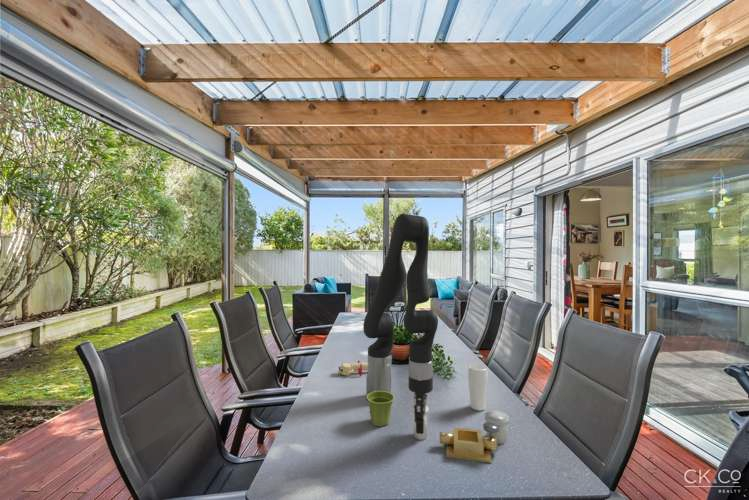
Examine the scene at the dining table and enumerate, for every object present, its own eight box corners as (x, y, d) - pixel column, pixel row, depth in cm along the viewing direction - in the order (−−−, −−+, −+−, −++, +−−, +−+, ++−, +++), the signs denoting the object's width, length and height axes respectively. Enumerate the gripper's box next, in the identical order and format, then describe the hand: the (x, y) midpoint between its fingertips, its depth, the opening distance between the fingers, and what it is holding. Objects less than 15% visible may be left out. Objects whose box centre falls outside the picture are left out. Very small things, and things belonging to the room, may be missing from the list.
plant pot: (397, 418, 118) (397, 392, 118) (389, 431, 109) (389, 404, 109) (372, 413, 121) (372, 389, 121) (362, 426, 112) (362, 400, 112)
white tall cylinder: (488, 413, 121) (488, 371, 121) (468, 411, 123) (468, 369, 123) (486, 404, 128) (486, 364, 128) (467, 403, 129) (467, 363, 129)
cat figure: (386, 370, 168) (336, 370, 163) (387, 353, 168) (337, 352, 163) (391, 378, 158) (338, 377, 153) (393, 359, 159) (340, 358, 153)
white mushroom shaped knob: (411, 439, 104) (411, 410, 104) (413, 431, 109) (413, 403, 109) (427, 441, 103) (428, 411, 103) (428, 432, 108) (429, 404, 108)
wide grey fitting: (486, 443, 102) (486, 420, 102) (483, 431, 109) (483, 409, 109) (510, 446, 101) (510, 422, 101) (506, 433, 108) (506, 411, 108)
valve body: (439, 456, 96) (439, 429, 96) (440, 437, 106) (440, 412, 106) (501, 464, 92) (501, 436, 92) (496, 443, 102) (496, 418, 102)
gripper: (411, 365, 114) (410, 417, 114) (405, 381, 100) (405, 440, 100) (433, 367, 112) (433, 419, 112) (431, 384, 98) (431, 443, 98)
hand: (420, 428), depth 106 cm, fingers closed on white mushroom shaped knob, 4 cm apart
